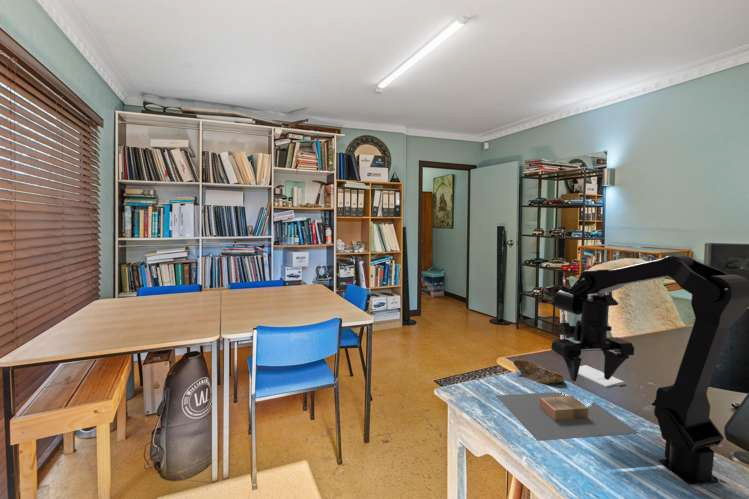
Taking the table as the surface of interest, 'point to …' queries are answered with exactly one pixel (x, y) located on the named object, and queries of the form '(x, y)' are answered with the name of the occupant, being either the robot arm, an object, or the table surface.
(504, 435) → the table surface
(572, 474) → the table surface
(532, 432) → the rubber mat
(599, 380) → the external hard drive
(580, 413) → the walnut slab
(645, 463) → the table surface
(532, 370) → the decorative stone
